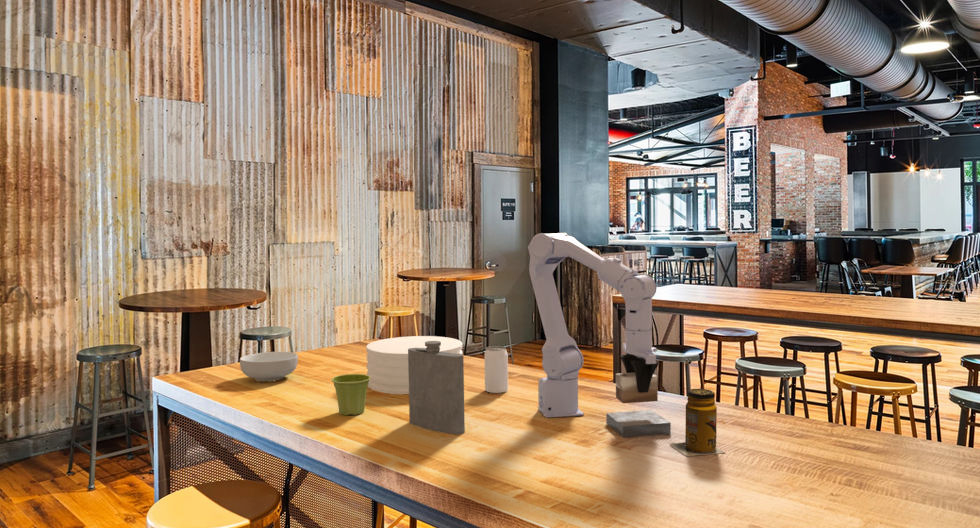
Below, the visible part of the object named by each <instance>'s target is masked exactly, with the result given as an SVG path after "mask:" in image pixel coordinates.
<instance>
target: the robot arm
mask: <svg viewBox="0 0 980 528" xmlns="http://www.w3.org/2000/svg"><path fill="white" fill-rule="evenodd" d="M527 249H528V253H529V266H528V268H529V269H528V272H529V273H528V274H529V277H530V280H531V284H532V289H533V291H534V292H533V293H534V295H535V300H536V304H537V307H538V312H539V315H540V320H541V323H542V328H543V332H544V335H545V339H546V340H545V343H544V344H543V346H542V348H541V354H542V362H541V365H542V369H543V371H544V373H545V374H546V376H545V377H541V378H539V380H538V386H537V387H538V391H537V392H538V406H537V409H538V411H539V412H540V413H541V414H542V415H543V416H544V417H545V418H558V417H559V418H562V417H576V416H584V412H583V411H582V410H581V409H579V375H580V373H579V372H580V370H581V369H582V368H583V365H584V356H583V353H582V352H581V350H580V349H579V347H578V345H577V341H576V340H575V339H574V338H573V337H571V336H570V335H569V332H568V327H567V325H566V321H565V316H564V313H563V310H562V309H563V308H562V306H561V301H560V298H559V293H558V290H557V286H556V282H555V279H554V271H555V270H556V268H557V266H558V265H559V264H560V263H561V262H562V261H564V260H565V259H566V258H568V257H569V258H571V259H573V260H575V261H577V262H578V263H581V264H582V265H584V266H586V267H588V268H590V269H591V270H594V271H595V272H596V273H597V278H598V279H599V280H600V281H602V282H603V283H605V284H607V285H608V286H610V287H611V288H612V289H615V290H616V291H617V292H620V294H621V296H622V298H623V300H624V304H625V342H623V343H622V351H623V352H624V353H625V354H622V355H619V358H620V360H621V362H622V364H623V366H624V370H625V373H635V375H636V383H637V389H638V392H639V393H644V392H648V390H649V387H650V383H651V379H652V376H653V374H655V371H656V369H657V368H658V367H659V362H658V361H657V355H656V354H655V353H656V352H657V351H658V349H657V347H654V346H653V341H652V340H653V298H654V296H655V294H656V293H657V284H656V282H655V279H653V278H652V277H651V276H650V275H649V274H648V273H642V274H639V270H637V269H636V268H633V269H632V268H630V267H629V266H626V265H625V264H623V263H622V260H621V259H620V258H618V257H614V258H613V257H608V258H606V259H605V258H603V257H602V256H600V255H599V254H597V253H596V252H595V251H594V250H591V249H590V248H589V247H587V246H586V245H584V244H583V243H581V242H580V241H579V240H577V239H576V238H575V237H573V236H571V235H569V234H567V233H566V232H557V233H554V232H553V233H543V232H541V233H537V234H535V235H534V236H533V237H532V239H531V240H530V242H529V244H528V245H527Z"/></svg>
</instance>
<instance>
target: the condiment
mask: <svg viewBox="0 0 980 528" xmlns="http://www.w3.org/2000/svg"><path fill="white" fill-rule="evenodd" d="M715 396H716V394H715V392H714V391H713V390H710V389H708V388H707V389H706V388H691V389H689V390H688V391H687V399H686V400H687V402H686V403H685V434H684V435H685V441H684V442H672V443H669V445H670V446H671V447H672V448H674V449H675V450H676V451H678V452H679V453H681V454H682V455H684V456H686V457H695V456H703V455H705V456H706V455H709V456H710V455H717V454H725V451H724V450H722V449H720V448H718V447H717V434H718V433H717V418H718V417H717V412H718V409H717V404H715V403H716V399H715V398H716V397H715Z"/></svg>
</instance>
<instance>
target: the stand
mask: <svg viewBox="0 0 980 528" xmlns="http://www.w3.org/2000/svg"><path fill="white" fill-rule="evenodd" d="M605 417H606V425H607V426H608V427H610V428H611V429H612V430H614V432H615V433H616V434H618V435H619V436H620V437H622V438H635V437H637V438H638V437H647V436H649V437H650V436H661V435H671V430H672V429H671V427H672V426H671V424H672V423H671V422H670V421H669V420H667V419H665V418H664V417H663V416H661V415H660V414H658V413H656V412H655V411H654V410H652V409H648V410H646V409H645V410H644V409H643V410H631V411H617V412H606V416H605Z"/></svg>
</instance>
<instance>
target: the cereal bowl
mask: <svg viewBox="0 0 980 528" xmlns="http://www.w3.org/2000/svg"><path fill="white" fill-rule="evenodd" d="M298 362H299V355H298V353H296V352H292V351H269V352H267V351H266V352H257V353H252V354H247V355H243V356H241V357H240V358H239V366H240V370H241V372H242V373H243V374H244V375H245V376H247V377H249V378H251V379H254V380H255V381H256V380H257V381H256V382H259V381H263V382H264V383H266V382H265V381H271V382H275V381H274V380H278V381H280V380H279V379H281V380H283V379H284V378H285V377H286V376H288V375H291V374H292V373H293V372H294V371H295V370H296V369H297V367H298ZM282 378H283V379H282ZM263 382H262V383H263Z"/></svg>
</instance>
